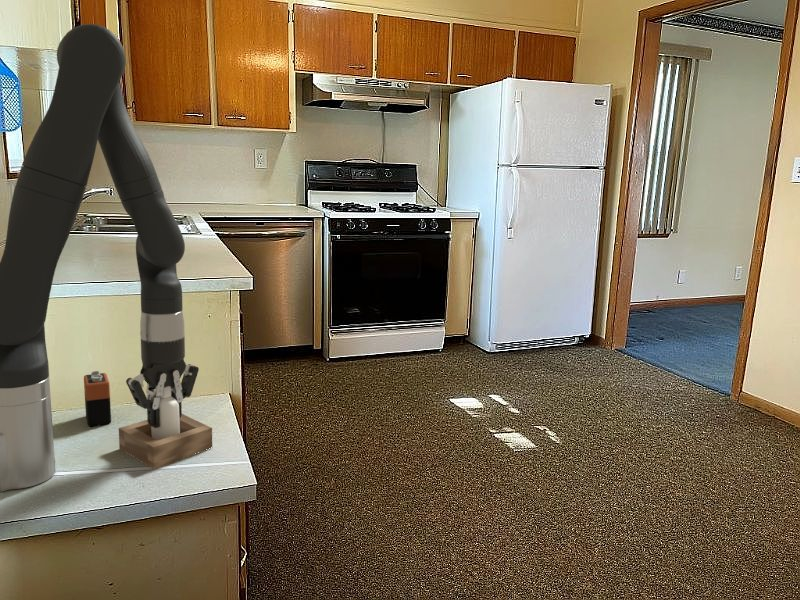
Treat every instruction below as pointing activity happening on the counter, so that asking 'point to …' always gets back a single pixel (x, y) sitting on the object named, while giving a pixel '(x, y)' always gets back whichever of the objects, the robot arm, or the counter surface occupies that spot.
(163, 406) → the eye dropper bottle
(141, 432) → the walnut open box
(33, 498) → the counter surface
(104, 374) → the battery
